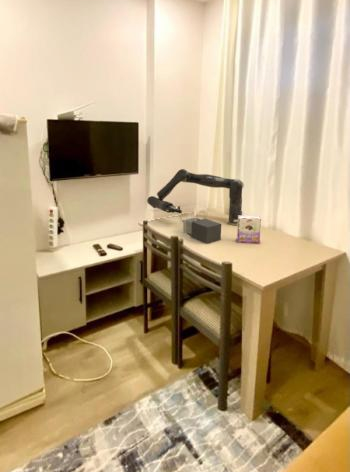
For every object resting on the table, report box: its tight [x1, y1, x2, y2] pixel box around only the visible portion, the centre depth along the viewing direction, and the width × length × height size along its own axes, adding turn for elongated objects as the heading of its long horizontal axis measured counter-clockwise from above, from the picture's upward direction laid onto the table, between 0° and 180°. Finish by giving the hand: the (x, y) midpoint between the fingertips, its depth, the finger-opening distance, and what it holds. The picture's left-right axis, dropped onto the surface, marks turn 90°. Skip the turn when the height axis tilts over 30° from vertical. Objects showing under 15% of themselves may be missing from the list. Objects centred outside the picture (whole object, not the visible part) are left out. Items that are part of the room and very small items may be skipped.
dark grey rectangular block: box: [190, 217, 222, 245], centre depth 210 cm, size 15×13×11 cm
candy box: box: [236, 215, 262, 244], centre depth 205 cm, size 14×6×16 cm, turn 84°
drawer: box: [181, 216, 202, 235], centre depth 219 cm, size 18×11×9 cm, turn 39°
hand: (180, 211), depth 228 cm, fingers closed
